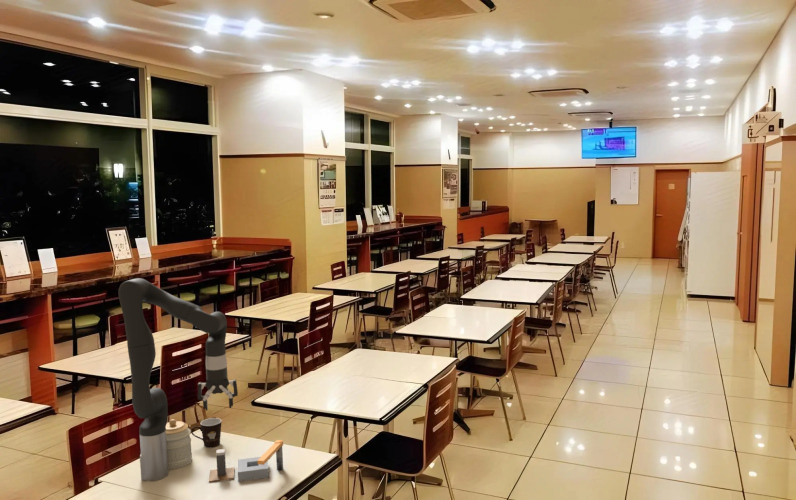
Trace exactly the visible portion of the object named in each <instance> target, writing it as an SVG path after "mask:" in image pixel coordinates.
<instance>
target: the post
mask: <svg viewBox="0 0 796 500" xmlns="http://www.w3.org/2000/svg"><path fill="white" fill-rule="evenodd" d="M275 455H276V458H275V460H276V471H279V472H280V471H283V470H284V458H283V446H281V447H280V448H279V449H278V450H277V451H276V452H275Z"/></svg>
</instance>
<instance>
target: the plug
mask: <svg viewBox="0 0 796 500" xmlns="http://www.w3.org/2000/svg"><path fill="white" fill-rule="evenodd" d="M215 456H216V469H217V476H224V475H226V468H227V465H226V449H225V448H221V449H216V452H215Z"/></svg>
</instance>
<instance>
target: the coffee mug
mask: <svg viewBox="0 0 796 500" xmlns="http://www.w3.org/2000/svg"><path fill="white" fill-rule="evenodd" d="M199 424H200V426H194V427H192V428H191V429H190V431H191V433H190V434H192V436H193V437H195V438H197V439H200V440H201V441H202V442H203V446H204V447H205V448H208V449H212V448H216V447H218V446H220V445H221V437H222V436H221V431H222V419H221V418H219V417H210V418H206V419H203V420H201V422H200V423H199ZM195 429H199V431H200V432H201V436H202V437H200V436H198V435H195V434H194V432H193V430H195Z"/></svg>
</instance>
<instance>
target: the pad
mask: <svg viewBox="0 0 796 500" xmlns="http://www.w3.org/2000/svg"><path fill="white" fill-rule="evenodd" d="M232 480H235V467H234V466H233V467H226V475H224V476H217V468H216V469H210V471H209V478H208V483H215V482H222V481H232Z"/></svg>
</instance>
